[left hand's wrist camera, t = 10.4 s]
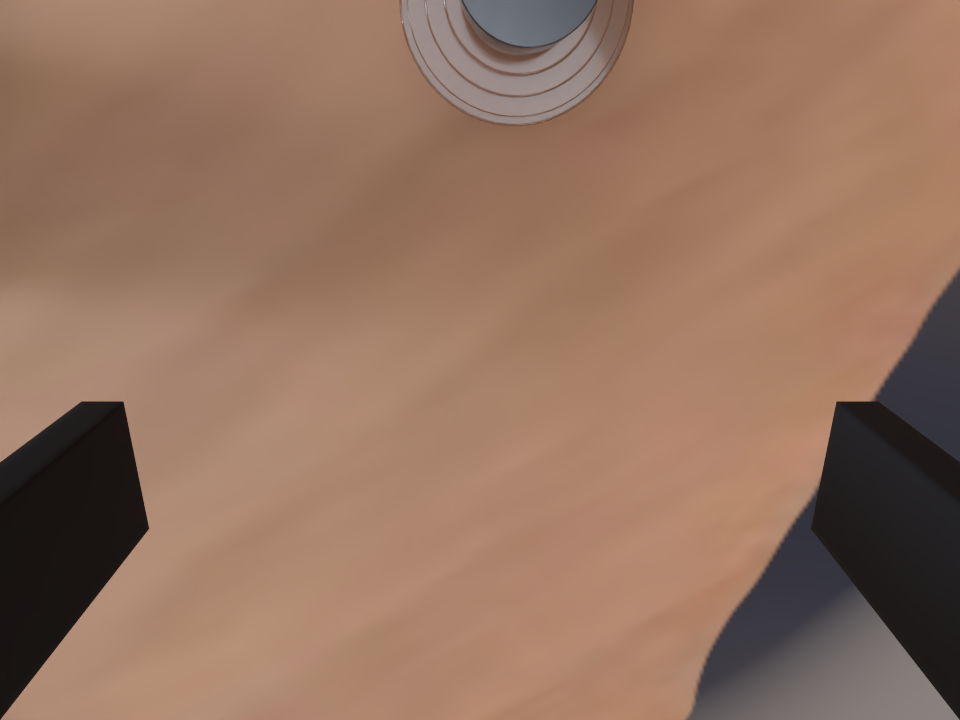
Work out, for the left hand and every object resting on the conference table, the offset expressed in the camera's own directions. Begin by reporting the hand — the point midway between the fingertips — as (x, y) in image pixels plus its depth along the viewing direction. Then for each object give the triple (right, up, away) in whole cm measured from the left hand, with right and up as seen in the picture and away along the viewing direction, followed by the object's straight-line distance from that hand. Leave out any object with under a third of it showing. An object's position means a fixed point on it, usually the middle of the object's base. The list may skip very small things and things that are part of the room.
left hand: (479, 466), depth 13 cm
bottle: (+1, +21, +28) cm, 35 cm away
